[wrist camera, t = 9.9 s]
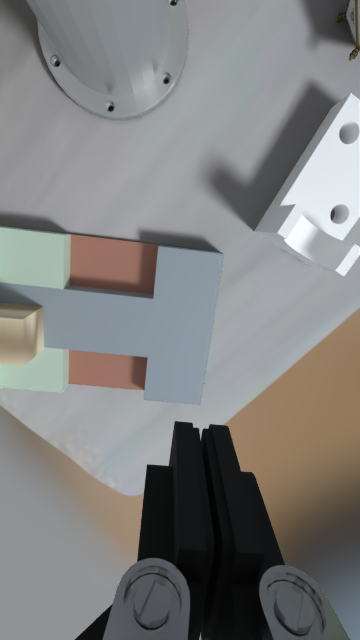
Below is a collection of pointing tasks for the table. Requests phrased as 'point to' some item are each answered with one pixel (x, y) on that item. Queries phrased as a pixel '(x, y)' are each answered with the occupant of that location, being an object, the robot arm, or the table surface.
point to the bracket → (321, 195)
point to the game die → (353, 23)
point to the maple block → (20, 333)
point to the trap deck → (112, 312)
